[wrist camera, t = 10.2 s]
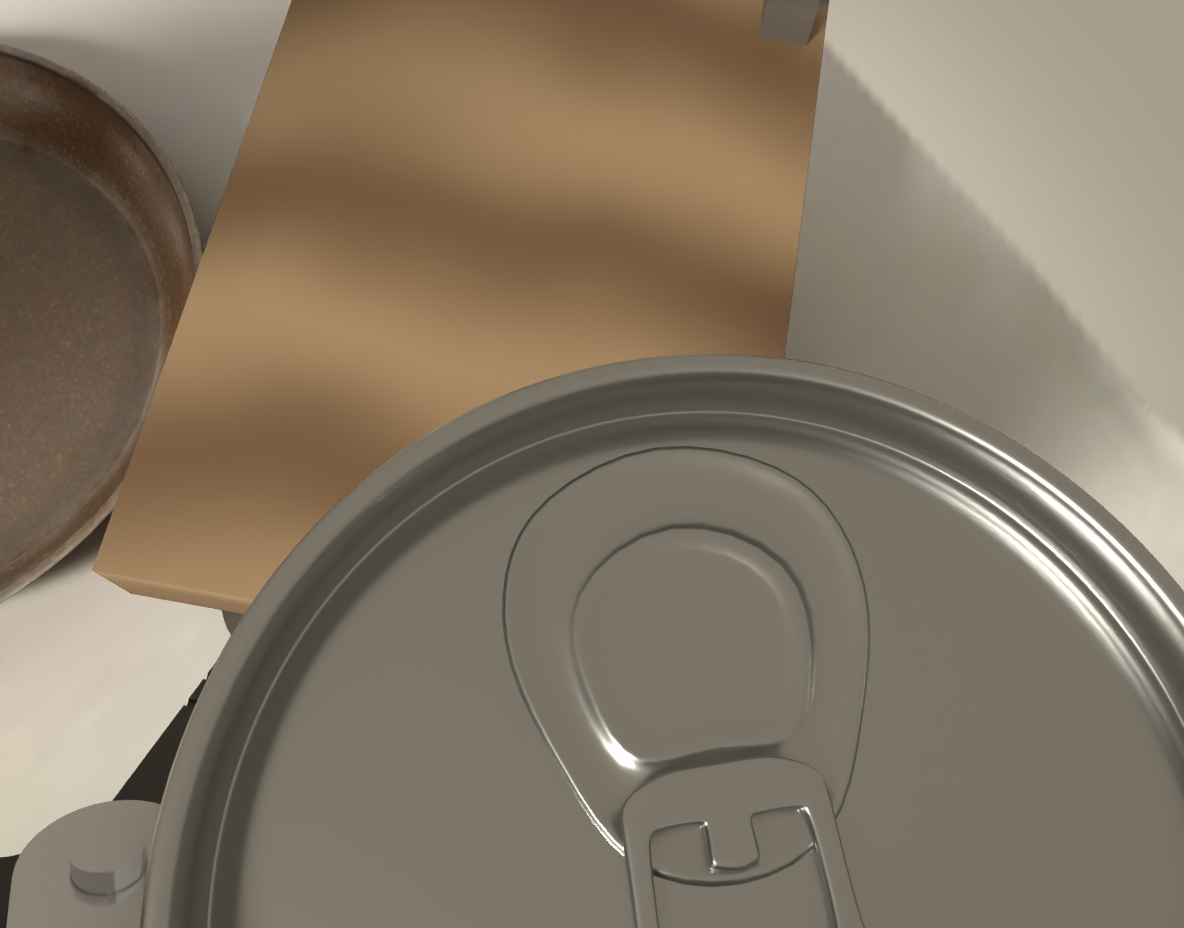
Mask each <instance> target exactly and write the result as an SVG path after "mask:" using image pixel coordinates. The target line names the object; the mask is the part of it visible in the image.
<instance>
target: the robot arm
mask: <svg viewBox="0 0 1184 928" xmlns="http://www.w3.org/2000/svg"><path fill="white" fill-rule="evenodd" d="M214 665H215V664H214ZM213 667H214V666H213ZM213 667H212V668H211V670H210V671H209V672H208V676H207V679H208V677H209V675H210V673H211V671H212V669H213ZM207 679H206V680H204V679H203V680H202V682H201V683H200V684H199V686H198V687H197V688H196V690H195V691H194V692H193V694H192V695H191V696H190V698H189V701H188V704H187V706H185V705H184V706H183V707H182V708H181V710H180V711H179V712H178V714H177V715H176V716H175V718H174V719H173V720H172V722H171V723H170V725H169V726H168V727H167V729H166V730H165V731H164V733H163V734H162V735H161V737H160V738H159V739H158V741H157V742H156V743H155V745H154V746H153V747H152V749H151V750H150V751H149V753H148V754H147V755H146V757H145V758H144V759H143V761H142V762H141V763H140V765H139V766H138V767H137V769H136V770H135V771H134V773H133V774H132V775H131V777H130V778H129V779H128V781H127V782H126V783H125V785H124V786H123V787H122V789H121V790H120V791H119V793H118V794H117V795H116V797H115V798H114V799H113V801H109V802H104V803H99V804H94V805H91V806H88V807H85V808H82V809H79V810H76V811H74V812H72V813H70V814H67V815H65V816H63V817H61V818H60V819H58V820H56V821H55V822H53V823H51V824H50V825H48V826H47V827H46V828H44V829H43V830H42V831H40V832H39V833H38V834H37V835H36V836H35V837H34V838H33V839H32V840H31V841H30V842H29V843H28V844H27V846H26V847H25V848H24V850H23V851H22V853H21V854H19V855H14V856H10V857H1V858H0V928H140V921H141V912H142V902H143V893H144V886H145V880H146V873H147V866H148V860H149V855H150V850H151V845H152V840H153V835H154V830H155V826H156V822H157V818H158V814H159V810H160V806H161V802H162V798H163V795H164V791H165V788H166V784H167V781H168V777H169V774H170V771H171V768H172V765H173V762H174V759H175V756H176V753H177V750H178V747H179V744H180V742H181V739H182V737H183V734H184V732H185V729H186V726H187V724H188V721H189V719H190V716H191V714H192V712H193V709H194V707H195V705H196V703H197V701H198V698H199V696H200V694H201V692H202V689H203V687H204V685H205V683H206V681H207Z"/></svg>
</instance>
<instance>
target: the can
mask: <svg viewBox="0 0 1184 928" xmlns="http://www.w3.org/2000/svg"><path fill="white" fill-rule="evenodd" d="M140 928H1184V591H1183V590H1182V588H1181V587H1180V586H1179V585H1178V584H1177V582H1176V581H1175V580H1174V579H1173V578H1172V577H1171V575H1170V574H1169V573H1168V572H1167V571H1166V570H1165V568H1164V567H1163V566H1162V565H1161V564H1160V563H1159V562H1158V561H1157V559H1156V558H1155V557H1154V556H1153V555H1152V554H1151V553H1150V552H1149V551H1148V550H1147V549H1146V548H1145V546H1144V545H1143V544H1142V543H1141V542H1140V541H1139V540H1138V539H1137V538H1136V537H1135V536H1134V535H1133V534H1132V533H1131V532H1130V531H1129V530H1128V529H1127V528H1126V527H1125V526H1124V525H1123V524H1121V523H1120V522H1119V521H1118V520H1117V519H1116V518H1115V517H1114V516H1113V515H1112V514H1111V513H1109V512H1108V511H1107V510H1106V509H1105V508H1104V507H1103V506H1102V505H1101V504H1099V503H1098V502H1097V501H1096V500H1095V499H1093V498H1092V497H1091V496H1090V495H1089V494H1087V493H1086V492H1085V491H1084V490H1083V489H1081V488H1080V487H1079V486H1078V485H1076V484H1075V483H1074V482H1072V481H1071V480H1070V479H1069V478H1067V477H1066V476H1065V475H1063V474H1062V473H1061V472H1059V471H1058V470H1057V469H1055V468H1054V467H1052V466H1051V465H1050V464H1048V463H1047V462H1045V461H1044V460H1043V459H1041V458H1040V457H1038V456H1037V455H1035V454H1034V453H1032V452H1031V451H1029V450H1027V449H1026V448H1024V447H1023V446H1021V445H1020V444H1018V443H1017V442H1015V441H1013V440H1012V439H1010V438H1008V437H1007V436H1005V435H1003V434H1001V433H1000V432H998V431H996V430H995V429H993V428H991V427H989V426H987V425H985V424H984V423H982V422H980V421H978V420H976V419H974V418H972V417H970V416H968V415H966V414H964V413H962V412H960V411H958V410H956V409H954V408H952V407H950V406H947V405H945V404H943V403H940V402H938V401H936V400H934V399H931V398H929V397H927V396H924V395H921V394H919V393H916V392H914V391H911V390H908V389H906V388H903V387H900V386H897V385H894V384H891V383H888V382H885V381H883V380H879V379H876V378H873V377H869V376H866V375H862V374H859V373H855V372H851V371H847V370H843V369H839V368H835V367H830V366H825V365H820V364H815V363H810V362H804V361H798V360H792V359H785V358H776V357H767V356H757V355H742V354H681V355H666V356H656V357H647V358H638V359H632V360H626V361H619V362H613V363H609V364H604V365H599V366H594V367H589V368H585V369H581V370H577V371H573V372H569V373H566V374H563V375H559V376H556V377H552V378H549V379H546V380H543V381H540V382H537V383H534V384H531V385H528V386H526V387H523V388H520V389H518V390H515V391H513V392H510V393H508V394H505V395H503V396H500V397H498V398H496V399H493V400H491V401H489V402H487V403H485V404H482V405H480V406H478V407H476V408H474V409H472V410H470V411H468V412H466V413H464V414H462V415H460V416H458V417H456V418H454V419H453V420H451V421H449V422H447V423H446V424H444V425H442V426H440V427H438V428H437V429H435V430H433V431H432V432H430V433H428V434H427V435H425V436H424V437H422V438H420V439H419V440H417V441H416V442H414V443H413V444H411V445H410V446H408V447H407V448H405V449H404V450H402V451H401V452H400V453H398V454H397V455H395V456H394V457H392V458H391V459H390V460H388V461H387V462H386V463H384V464H383V465H382V466H380V467H379V468H378V469H377V470H375V471H374V472H373V473H371V474H370V475H369V476H368V477H366V478H365V479H364V480H363V481H362V482H360V483H359V484H358V485H357V486H356V487H355V488H353V489H352V490H351V491H350V492H349V493H348V494H347V495H345V496H344V497H343V498H342V499H341V500H340V501H339V502H338V503H337V504H336V505H335V506H334V507H332V508H331V509H330V510H329V511H328V512H327V513H326V514H325V515H324V516H323V517H322V518H321V519H320V520H319V521H318V522H317V523H316V524H315V525H314V526H313V527H312V529H311V530H310V531H309V532H308V533H307V534H306V535H305V536H304V537H303V539H302V540H301V541H300V542H299V543H298V544H297V545H296V546H295V547H294V549H293V550H292V551H291V552H290V553H289V555H288V556H287V557H286V558H285V559H284V561H283V562H282V563H281V564H280V565H279V567H278V568H277V569H276V571H275V572H274V573H273V575H272V576H271V577H270V578H269V580H268V581H267V582H266V584H265V585H264V586H263V588H262V589H261V590H260V592H259V593H258V595H257V596H256V598H255V599H254V601H253V602H252V604H251V605H250V607H249V608H248V609H247V611H246V612H245V614H244V615H243V617H242V619H241V620H240V622H239V624H238V625H237V627H236V628H235V630H234V632H233V633H232V635H231V636H230V638H229V640H228V642H227V644H226V645H225V647H224V649H223V651H222V652H221V654H220V656H219V658H218V660H217V661H216V663H215V665H214V667H213V669H212V671H211V673H210V675H209V677H208V679H207V681H206V683H205V685H204V687H203V689H202V692H201V694H200V696H199V698H198V701H197V703H196V705H195V707H194V709H193V712H192V714H191V716H190V719H189V721H188V724H187V726H186V729H185V732H184V734H183V737H182V739H181V742H180V744H179V747H178V750H177V753H176V756H175V759H174V762H173V765H172V768H171V771H170V774H169V777H168V781H167V784H166V788H165V791H164V795H163V798H162V802H161V806H160V810H159V814H158V818H157V822H156V826H155V830H154V835H153V840H152V845H151V850H150V855H149V860H148V866H147V873H146V880H145V886H144V893H143V902H142V912H141V921H140Z"/></svg>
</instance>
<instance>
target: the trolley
mask: <svg viewBox="0 0 1184 928" xmlns="http://www.w3.org/2000/svg"><path fill="white" fill-rule="evenodd" d="M828 4H829V0H292V2H291V5H290V8H289V10H288V13H287V16H286V19H285V22H284V25H283V27H282V30H281V33H280V36H279V39H278V42H277V45H276V47H275V50H274V53H273V56H272V59H271V62H270V65H269V67H268V70H267V73H266V76H265V79H264V82H263V84H262V87H261V90H260V93H259V96H258V99H257V102H256V104H255V107H254V110H253V113H252V116H251V119H250V122H249V124H248V127H247V130H246V133H245V136H244V139H243V141H242V144H241V147H240V150H239V153H238V156H237V159H236V161H235V164H234V167H233V170H232V173H231V176H230V179H229V181H228V184H227V187H226V190H225V193H224V196H223V198H222V201H221V204H220V207H219V210H218V213H217V216H216V218H215V221H214V224H213V227H212V230H211V233H210V236H209V238H208V241H207V244H206V247H205V250H204V253H203V255H202V258H201V261H200V264H199V267H198V270H197V273H196V275H195V278H194V281H193V284H192V287H191V290H190V293H189V295H188V298H187V301H186V304H185V307H184V310H183V312H182V315H181V318H180V321H179V324H178V327H177V330H176V332H175V335H174V338H173V341H172V344H171V347H170V350H169V352H168V355H167V358H166V361H165V364H164V367H163V369H162V372H161V375H160V378H159V381H158V384H157V387H156V389H155V392H154V395H153V398H152V401H151V404H150V407H149V409H148V412H147V415H146V418H145V421H144V424H143V426H142V429H141V432H140V435H139V438H138V441H137V444H136V446H135V449H134V452H133V455H132V458H131V461H130V464H129V466H128V469H127V472H126V475H125V478H124V481H123V483H122V486H121V489H120V492H119V495H118V498H117V501H116V503H115V506H114V509H113V512H112V515H111V518H110V521H109V523H108V526H107V529H106V532H105V535H104V538H103V540H102V543H101V546H100V549H99V552H98V555H97V558H96V560H95V563H94V566H93V569H92V571H94V572H96V573H97V574H99V575H101V576H102V577H104V578H106V579H108V580H109V581H111V582H113V583H114V584H116V585H118V586H119V587H121V588H123V589H124V590H126V591H128V592H129V593H131V594H137V595H142V596H148V597H153V598H159V599H164V600H170V601H175V602H181V603H186V604H192V605H197V606H203V607H208V608H214V609H219V610H222V613H223V617H224V621H225V623H226V626H227V629H228V631H229V632H230V634H231V635H232V633H233V632H234V630H235V628H236V627H237V625H238V624H239V622H240V620H241V619H242V617H243V615H244V614H245V612H246V611H247V609H248V608H249V607H250V605H251V604H252V602H253V601H254V599H255V598H256V596H257V595H258V593H259V592H260V590H261V589H262V588H263V586H264V585H265V584H266V582H267V581H268V580H269V578H270V577H271V576H272V575H273V573H274V572H275V571H276V569H277V568H278V567H279V565H280V564H281V563H282V562H283V561H284V559H285V558H286V557H287V556H288V555H289V553H290V552H291V551H292V550H293V549H294V547H295V546H296V545H297V544H298V543H299V542H300V541H301V540H302V539H303V537H304V536H305V535H306V534H307V533H308V532H309V531H310V530H311V529H312V527H313V526H314V525H315V524H316V523H317V522H318V521H319V520H320V519H321V518H322V517H323V516H324V515H325V514H326V513H327V512H328V511H329V510H330V509H331V508H332V507H334V506H335V505H336V504H337V503H338V502H339V501H340V500H341V499H342V498H343V497H344V496H345V495H347V494H348V493H349V492H350V491H351V490H352V489H353V488H355V487H356V486H357V485H358V484H359V483H360V482H362V481H363V480H364V479H365V478H366V477H368V476H369V475H370V474H371V473H373V472H374V471H375V470H377V469H378V468H379V467H380V466H382V465H383V464H384V463H386V462H387V461H388V460H390V459H391V458H392V457H394V456H395V455H397V454H398V453H400V452H401V451H402V450H404V449H405V448H407V447H408V446H410V445H411V444H413V443H414V442H416V441H417V440H419V439H420V438H422V437H424V436H425V435H427V434H428V433H430V432H432V431H433V430H435V429H437V428H438V427H440V426H442V425H444V424H446V423H447V422H449V421H451V420H453V419H454V418H456V417H458V416H460V415H462V414H464V413H466V412H468V411H470V410H472V409H474V408H476V407H478V406H480V405H482V404H485V403H487V402H489V401H491V400H493V399H496V398H498V397H500V396H503V395H505V394H508V393H510V392H513V391H515V390H518V389H520V388H523V387H526V386H528V385H531V384H534V383H537V382H540V381H543V380H546V379H549V378H552V377H556V376H559V375H563V374H566V373H569V372H573V371H577V370H581V369H585V368H589V367H594V366H599V365H604V364H609V363H613V362H619V361H626V360H632V359H638V358H647V357H656V356H666V355H681V354H742V355H757V356H767V357H776V358H784V354H785V346H786V338H787V330H788V322H789V314H790V307H791V299H792V291H793V283H794V275H795V267H796V259H797V251H798V243H799V235H800V227H801V219H802V211H803V203H804V195H805V187H806V179H807V171H808V163H809V156H810V148H811V140H812V132H813V124H814V116H815V108H816V100H817V92H818V84H819V76H820V68H821V60H822V52H823V44H824V36H825V28H826V20H827V12H828Z"/></svg>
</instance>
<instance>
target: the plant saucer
mask: <svg viewBox="0 0 1184 928" xmlns="http://www.w3.org/2000/svg"><path fill="white" fill-rule="evenodd" d="M202 255H203V249H202V244H201V238H200V233H199V229H198V225H197V221H196V217H195V214H194V211H193V208H192V206H191V203H190V201H189V198H188V196H187V193H186V191H185V188H184V186H183V184H182V182H181V180H180V178H179V176H178V174H177V172H176V171H175V169H174V167H173V166H172V164H171V162H170V161H169V159H168V158H167V156H166V154H165V153H164V151H163V150H162V148H161V147H160V146H159V144H158V143H157V142H156V141H155V139H154V138H153V137H152V136H151V134H150V133H149V132H148V131H147V130H146V128H145V127H144V126H143V125H142V124H141V123H140V122H139V121H138V120H137V119H136V118H135V117H134V116H133V114H131V113H130V112H129V111H128V110H127V109H126V108H125V107H124V106H122V105H121V104H120V103H119V102H117V101H116V100H115V99H114V98H112V97H111V96H110V95H108V94H107V93H106V92H104V91H103V90H102V89H100V88H99V87H97V86H96V85H94V84H93V83H91V82H90V81H88V80H87V79H85V78H83V77H81V76H80V75H78V74H76V73H74V72H73V71H70V70H68V69H66V68H64V67H62V66H60V65H58V64H56V63H54V62H52V61H49V60H47V59H45V58H43V57H40V56H37V55H34V54H31V53H28V52H25V51H22V50H19V49H16V48H13V47H9V46H5V45H2V44H0V603H1V602H3V601H5V600H6V599H8V598H9V597H11V596H13V595H14V594H16V593H17V592H19V591H20V590H22V589H23V588H25V587H26V586H28V585H29V584H31V583H32V582H33V581H35V580H36V579H37V578H39V577H40V576H41V575H43V574H44V573H45V572H47V571H48V570H49V569H51V568H52V567H53V566H55V565H56V564H57V563H58V562H59V561H61V560H62V559H63V558H64V557H65V556H67V555H68V554H69V553H70V552H71V551H73V550H74V549H75V548H76V547H77V546H78V545H79V544H80V543H81V542H82V541H83V540H85V539H86V538H87V537H88V536H89V535H90V534H91V533H92V532H93V531H94V530H95V529H96V528H97V527H98V526H99V525H100V524H101V523H102V522H103V521H104V520H105V519H106V517H107V516H108V515H109V514H110V513H111V512H112V511H113V509H114V506H115V503H116V501H117V498H118V495H119V492H120V489H121V486H122V483H123V481H124V478H125V475H126V472H127V469H128V466H129V464H130V461H131V458H132V455H133V452H134V449H135V446H136V444H137V441H138V438H139V435H140V432H141V429H142V426H143V424H144V421H145V418H146V415H147V412H148V409H149V407H150V404H151V401H152V398H153V395H154V392H155V389H156V387H157V384H158V381H159V378H160V375H161V372H162V369H163V367H164V364H165V361H166V358H167V355H168V352H169V350H170V347H171V344H172V341H173V338H174V335H175V332H176V330H177V327H178V324H179V321H180V318H181V315H182V312H183V310H184V307H185V304H186V301H187V298H188V295H189V293H190V290H191V287H192V284H193V281H194V278H195V275H196V273H197V270H198V267H199V264H200V261H201V258H202Z"/></svg>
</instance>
